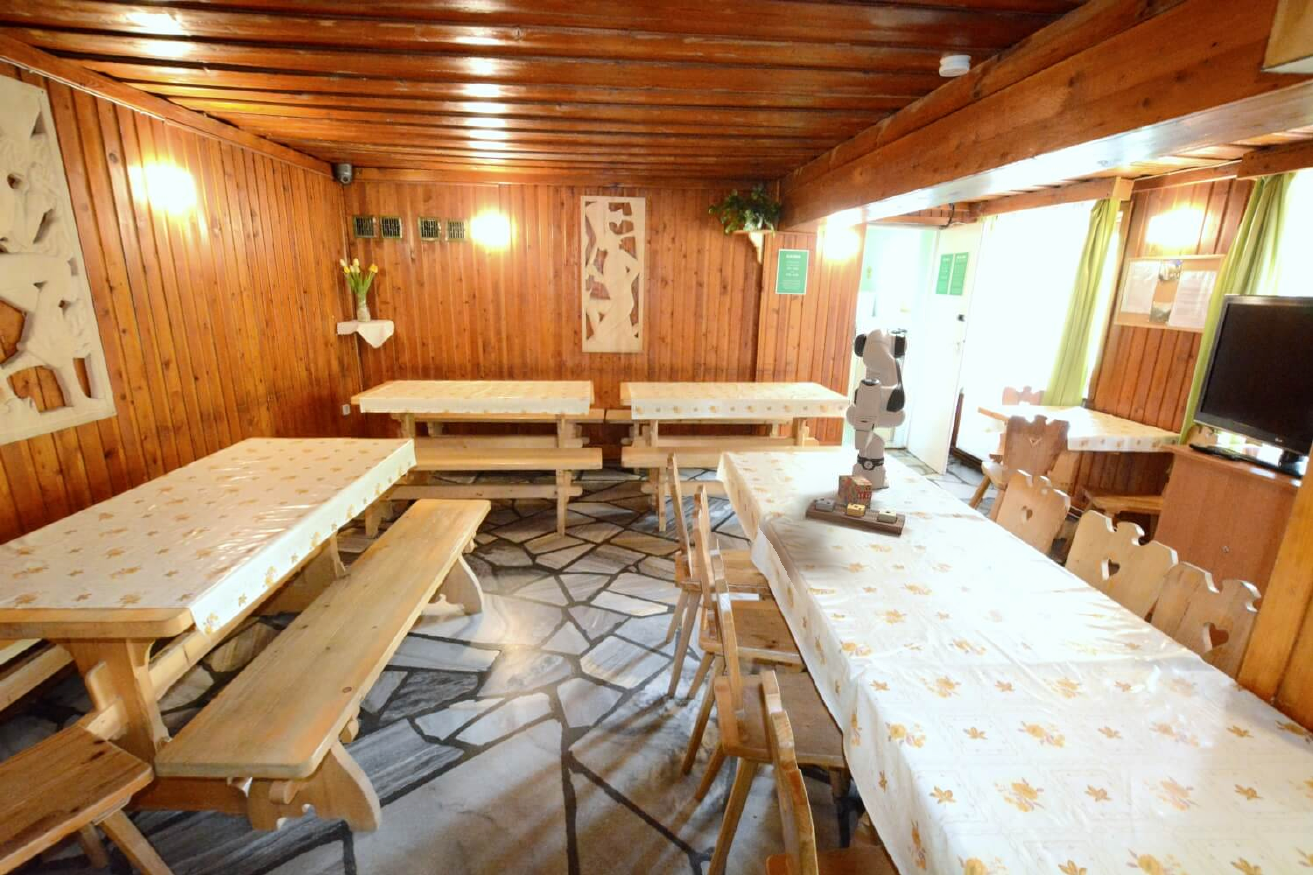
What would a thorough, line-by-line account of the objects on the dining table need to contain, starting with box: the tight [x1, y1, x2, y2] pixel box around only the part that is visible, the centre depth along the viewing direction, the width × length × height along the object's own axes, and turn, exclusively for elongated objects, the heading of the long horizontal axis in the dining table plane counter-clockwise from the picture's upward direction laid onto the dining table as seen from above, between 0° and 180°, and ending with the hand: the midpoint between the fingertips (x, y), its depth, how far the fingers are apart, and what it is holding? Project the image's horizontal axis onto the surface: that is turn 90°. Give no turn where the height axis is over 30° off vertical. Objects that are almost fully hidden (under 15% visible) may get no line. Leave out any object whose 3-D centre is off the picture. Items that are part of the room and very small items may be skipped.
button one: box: [878, 508, 898, 523], centre depth 227 cm, size 6×6×4 cm
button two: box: [816, 497, 835, 512], centre depth 238 cm, size 6×6×4 cm
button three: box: [846, 503, 865, 517], centre depth 232 cm, size 6×6×4 cm
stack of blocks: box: [837, 474, 873, 509], centre depth 250 cm, size 21×6×12 cm, turn 3°
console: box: [805, 499, 906, 535], centre depth 233 cm, size 14×36×3 cm, turn 62°
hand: (862, 456), depth 226 cm, fingers closed
